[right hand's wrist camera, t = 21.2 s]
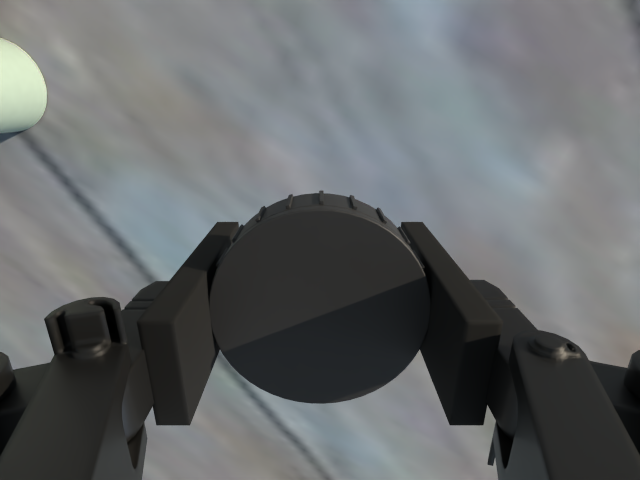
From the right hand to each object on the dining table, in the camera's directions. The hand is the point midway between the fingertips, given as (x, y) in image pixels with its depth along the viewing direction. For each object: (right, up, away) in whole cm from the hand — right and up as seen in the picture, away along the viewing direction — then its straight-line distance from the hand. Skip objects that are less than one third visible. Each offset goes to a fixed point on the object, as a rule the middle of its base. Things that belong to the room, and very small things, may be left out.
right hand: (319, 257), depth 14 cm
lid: (0, -1, -4) cm, 4 cm away
